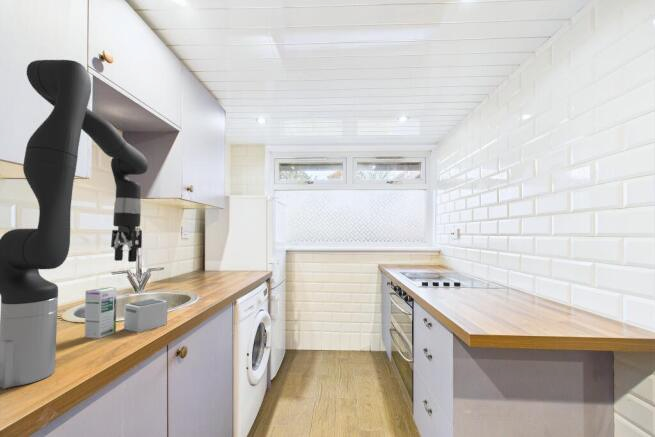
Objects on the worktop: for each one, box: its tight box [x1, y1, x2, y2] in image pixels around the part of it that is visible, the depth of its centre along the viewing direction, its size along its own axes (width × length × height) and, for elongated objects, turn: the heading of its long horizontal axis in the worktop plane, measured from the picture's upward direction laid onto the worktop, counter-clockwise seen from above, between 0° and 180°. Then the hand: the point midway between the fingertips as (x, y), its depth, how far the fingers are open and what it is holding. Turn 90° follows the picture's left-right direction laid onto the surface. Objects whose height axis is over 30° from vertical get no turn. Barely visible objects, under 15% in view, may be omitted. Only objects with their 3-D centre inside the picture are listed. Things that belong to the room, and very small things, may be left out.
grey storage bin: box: [123, 298, 168, 334], centre depth 104 cm, size 10×8×8 cm
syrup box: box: [84, 286, 117, 339], centre depth 96 cm, size 6×6×14 cm
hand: (125, 261), depth 101 cm, fingers open, 8 cm apart
